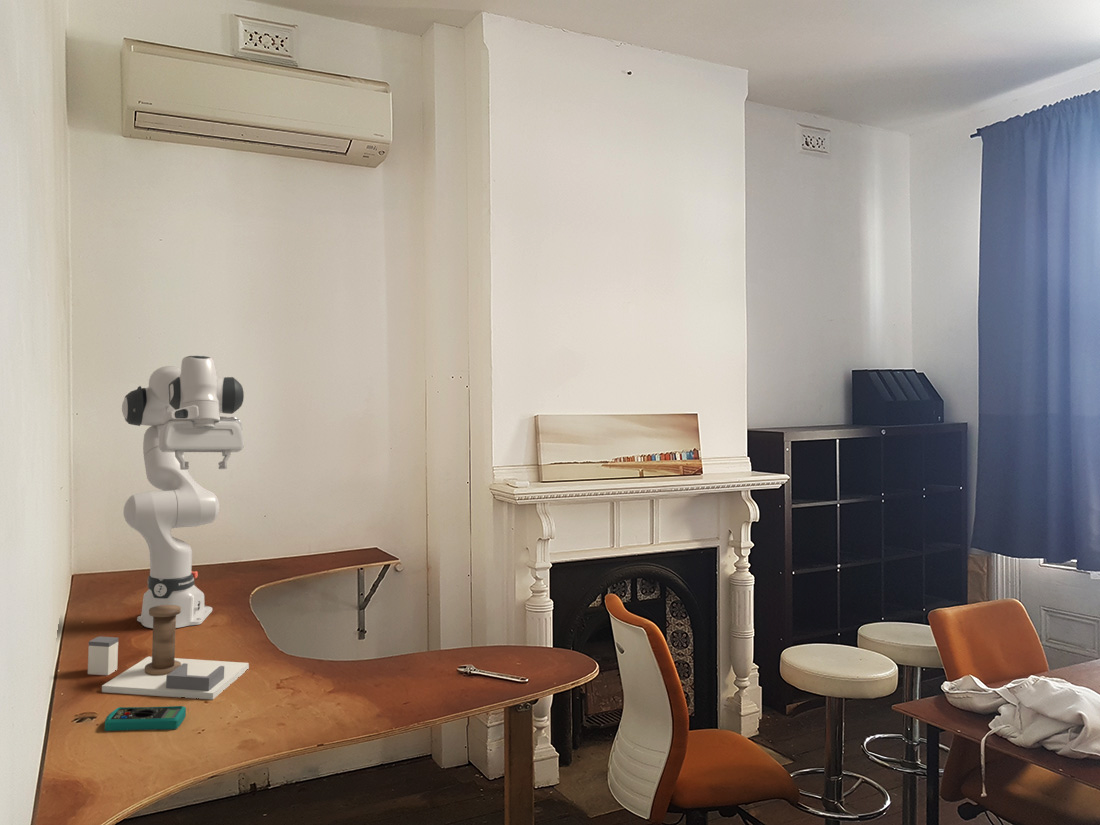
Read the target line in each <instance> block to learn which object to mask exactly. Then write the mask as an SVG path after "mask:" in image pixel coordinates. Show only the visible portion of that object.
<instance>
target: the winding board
mask: <svg viewBox="0 0 1100 825" xmlns="http://www.w3.org/2000/svg"><path fill="white" fill-rule="evenodd" d="M175 660H176V661H179V662H180V663H181V666H179V667H178V668H176V669H175V670H173V671H172V672H171V673H169V674H168V675H159V676H156V675H149V674H146V673H145V666H146V665H147V664H149V663H151V662H152V656H146V657H144V658H143V659H142V660H140V661H139V662H138V663H136V664H133V665H132V666H131V667H129V668H127V669H126V670H125V671H122V672H121V673H120V674H118V675H116V676H115V677H113V678H112V679H110V680H109V681H107V682H106V683H104V684H102V685H101V692H102V693H109V694H124V695H136V696H137V695H139V696H157V697H168V698H169V697H171V698H181V697H185V698H184V699H196V698H197V699H198V698H199V699H198V700H200V699H201V700H212V701H213V700H214V699H216V698H217V697H218V696H219V695H221V693H222V692H224V691H225V690H226V689H227V688H228V687H229V686H231V685H232V684H233V683H234V682H236V681H237V680H238V679H239V678H240V677H241V676H242V675H243V674H245V673H246V672H247V671H248V670H249V668H250V665H249V662H240V661H239V662H237V661H222V660H210V659H207V660H206V659H195V658H193V659H192V658H178V657H177V658H176V657H175ZM247 669H248V670H247ZM246 670H247V671H246ZM245 671H246V672H245ZM238 677H239V678H238ZM230 684H231V685H230ZM223 690H224V691H223Z"/></svg>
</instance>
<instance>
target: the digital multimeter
mask: <svg viewBox="0 0 1100 825" xmlns="http://www.w3.org/2000/svg"><path fill="white" fill-rule="evenodd" d="M186 714H187V707H186V706H183V705H176V706H175V705H173V706H172V705H171V706H137V707H136V706H131V707H130V706H128V707H127V706H123V707H122V706H120V707H119V706H118V707H117V708H115V709H114V710H113V711H111V712H110V713H108V714H107V716H106V718H105V719H104V720H105V721H104V731H105V732H117V731H147V730H148V731H150V730H151V731H152V730H153V731H155V730H158V731H159V730H162V731H163V730H165V731H167V730H172V731H173V730H178V728H179V727H180V726H181V725H182V724H183V722H184V721H185V718H186V716H187V715H186Z"/></svg>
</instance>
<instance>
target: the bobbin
mask: <svg viewBox="0 0 1100 825" xmlns="http://www.w3.org/2000/svg"><path fill="white" fill-rule="evenodd" d="M180 612H181V607H180V606H177V605H160V606H155V607H152V608H150V609H149V615H150V616H153V628H152V645H151V646H152V647H151V650H152V651H151V657H152V662H151V663H149V664H147V665H146V666H145V673H146V674H149V675H156V676H159V675H168V674H169V673H171V672H172V671H173V670H175V669H176V668H178V667H179V666H181V663H180V662H179V661H176V660H175V658H176V657H175V654H176V653H175V651H176V629H177V628H176V615H177V614H179V613H180Z"/></svg>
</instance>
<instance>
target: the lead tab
mask: <svg viewBox="0 0 1100 825" xmlns="http://www.w3.org/2000/svg"><path fill="white" fill-rule="evenodd" d="M87 651H88V656H87V657H88V658H87V675H98V676H109V675H111V674H113V673H114V672H116V671H117V670H118V659H119V658H118V657H119V655H118V654H119V637H114V636H111V637H110V636H97V637H95V638H92V639H91V640H89V641H88V650H87ZM115 670H116V671H115Z"/></svg>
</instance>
